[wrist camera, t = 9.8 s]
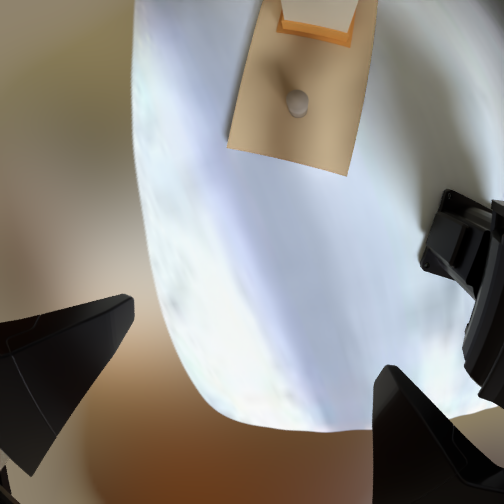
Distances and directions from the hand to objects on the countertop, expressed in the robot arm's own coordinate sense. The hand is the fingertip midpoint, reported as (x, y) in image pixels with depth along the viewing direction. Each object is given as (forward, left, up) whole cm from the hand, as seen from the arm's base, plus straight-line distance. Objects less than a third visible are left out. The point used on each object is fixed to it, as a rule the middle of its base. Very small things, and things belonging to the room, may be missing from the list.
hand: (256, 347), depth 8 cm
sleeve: (+1, -17, -11) cm, 20 cm away
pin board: (+1, -13, -12) cm, 18 cm away
